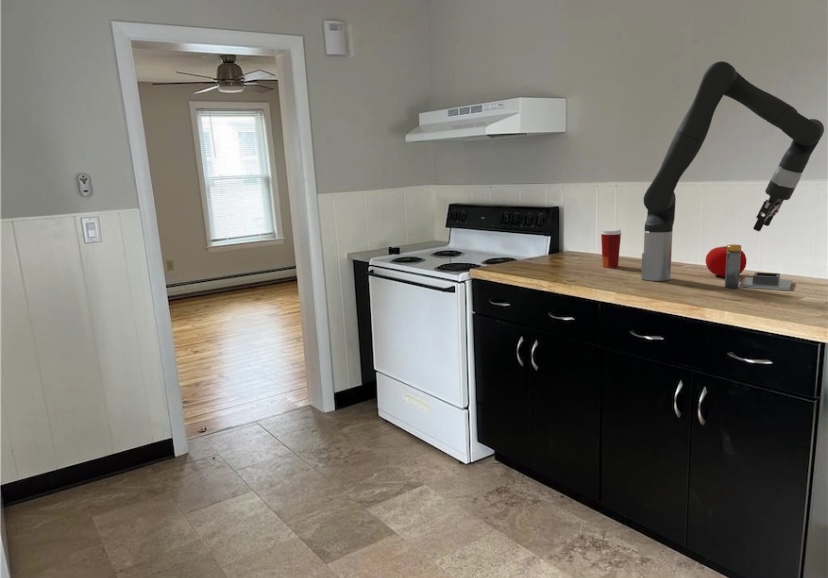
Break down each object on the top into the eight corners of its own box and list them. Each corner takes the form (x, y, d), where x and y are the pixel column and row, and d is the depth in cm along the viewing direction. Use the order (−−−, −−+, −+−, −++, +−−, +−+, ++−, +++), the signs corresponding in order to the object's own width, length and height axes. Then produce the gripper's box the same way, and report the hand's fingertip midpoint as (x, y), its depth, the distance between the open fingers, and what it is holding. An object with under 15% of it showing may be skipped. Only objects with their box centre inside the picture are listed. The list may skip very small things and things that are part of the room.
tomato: (750, 278, 212) (752, 247, 210) (709, 279, 214) (711, 248, 212) (739, 273, 223) (741, 243, 221) (701, 273, 226) (702, 243, 224)
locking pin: (723, 288, 198) (726, 245, 195) (725, 286, 201) (728, 244, 198) (737, 289, 196) (740, 246, 193) (739, 287, 199) (742, 244, 196)
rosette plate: (739, 287, 199) (739, 276, 198) (744, 279, 210) (745, 270, 209) (789, 290, 191) (790, 279, 190) (792, 282, 202) (793, 272, 202)
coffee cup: (623, 265, 249) (624, 229, 246) (617, 268, 242) (618, 231, 239) (602, 264, 253) (603, 228, 251) (596, 267, 247) (597, 230, 244)
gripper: (778, 174, 201) (756, 218, 209) (764, 181, 191) (742, 227, 200) (802, 183, 196) (779, 227, 205) (789, 190, 187) (765, 236, 195)
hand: (760, 227), depth 202 cm, fingers open, 8 cm apart
